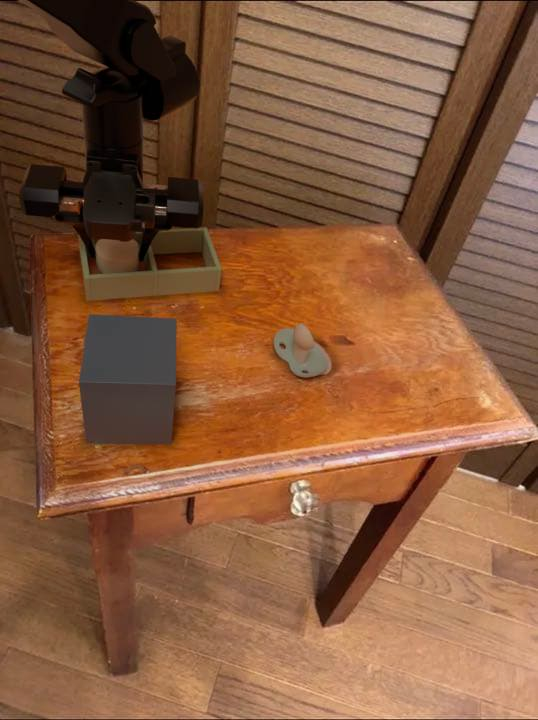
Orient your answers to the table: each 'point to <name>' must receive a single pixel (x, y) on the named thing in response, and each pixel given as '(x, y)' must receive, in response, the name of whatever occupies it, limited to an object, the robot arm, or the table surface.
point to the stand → (128, 379)
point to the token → (117, 256)
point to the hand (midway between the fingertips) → (117, 257)
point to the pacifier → (302, 352)
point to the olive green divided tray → (153, 279)
